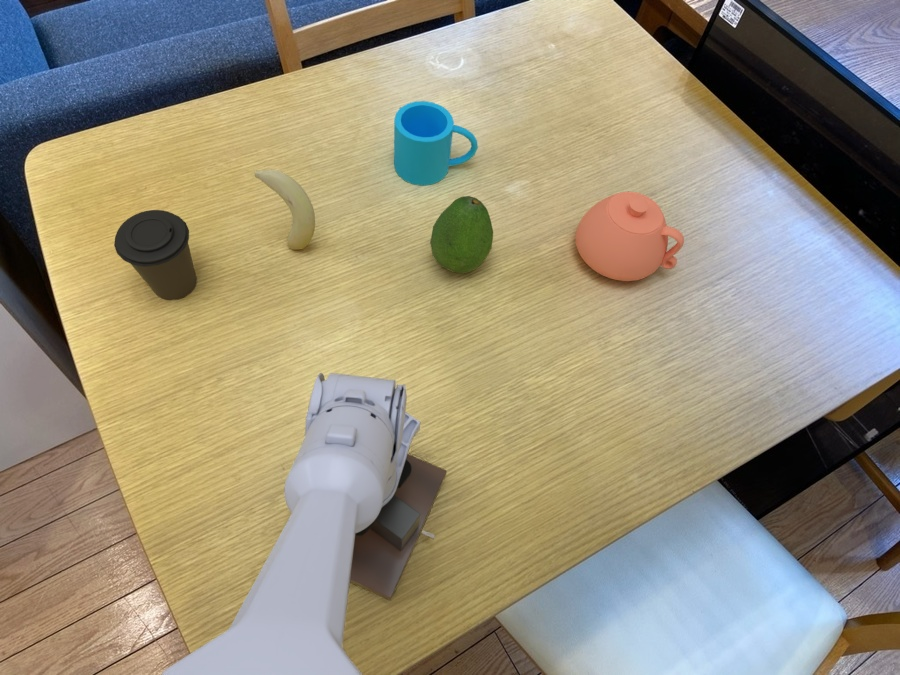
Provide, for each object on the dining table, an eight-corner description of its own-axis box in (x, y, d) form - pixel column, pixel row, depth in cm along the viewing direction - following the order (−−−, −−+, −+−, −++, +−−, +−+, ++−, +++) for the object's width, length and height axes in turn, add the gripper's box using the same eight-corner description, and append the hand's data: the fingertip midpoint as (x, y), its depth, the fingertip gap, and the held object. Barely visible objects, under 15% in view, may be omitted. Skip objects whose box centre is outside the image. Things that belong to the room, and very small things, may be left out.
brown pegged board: (402, 614, 62) (403, 611, 60) (266, 550, 64) (263, 545, 62) (460, 477, 69) (462, 471, 67) (337, 423, 71) (336, 416, 69)
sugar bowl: (590, 208, 91) (611, 155, 83) (680, 248, 89) (712, 198, 80) (557, 265, 85) (576, 215, 77) (652, 310, 83) (684, 263, 74)
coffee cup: (219, 289, 79) (199, 239, 70) (157, 320, 76) (128, 271, 67) (190, 247, 82) (167, 193, 73) (129, 275, 79) (98, 222, 70)
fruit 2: (481, 291, 82) (495, 232, 72) (422, 279, 82) (428, 218, 72) (491, 246, 86) (505, 183, 76) (435, 234, 86) (442, 170, 76)
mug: (393, 184, 90) (393, 140, 83) (394, 144, 95) (395, 99, 88) (475, 187, 92) (482, 144, 84) (473, 148, 96) (480, 104, 89)
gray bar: (418, 526, 64) (421, 513, 60) (401, 551, 63) (402, 539, 58) (335, 465, 67) (331, 447, 62) (316, 487, 65) (311, 471, 61)
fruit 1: (320, 258, 81) (330, 245, 82) (291, 177, 72) (303, 165, 74) (283, 252, 83) (294, 240, 84) (250, 172, 74) (263, 160, 76)
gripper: (378, 372, 57) (380, 429, 68) (265, 501, 50) (289, 540, 62) (442, 415, 55) (432, 466, 67) (334, 555, 48) (345, 584, 60)
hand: (367, 504), depth 64 cm, fingers closed on gray bar, 3 cm apart
